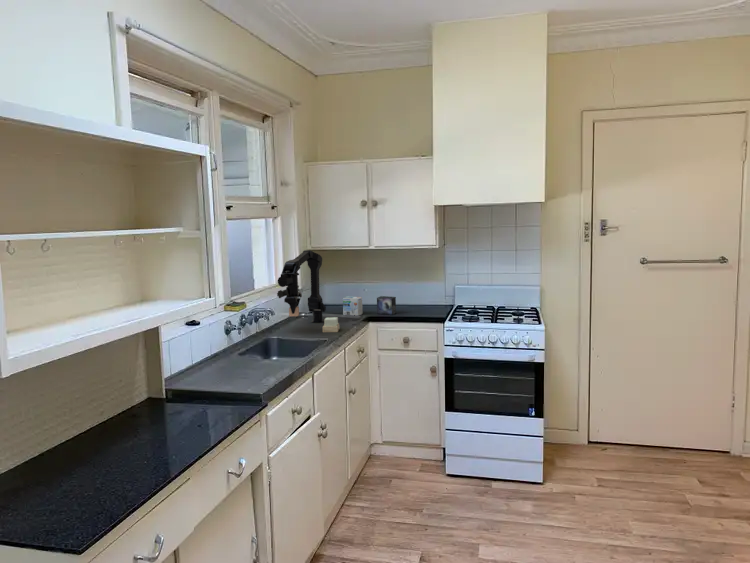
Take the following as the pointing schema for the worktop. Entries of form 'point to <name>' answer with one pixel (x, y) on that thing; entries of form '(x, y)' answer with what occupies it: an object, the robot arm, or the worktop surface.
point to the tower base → (330, 328)
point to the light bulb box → (352, 306)
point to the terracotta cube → (295, 312)
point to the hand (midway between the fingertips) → (294, 312)
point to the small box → (386, 305)
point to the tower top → (331, 321)
